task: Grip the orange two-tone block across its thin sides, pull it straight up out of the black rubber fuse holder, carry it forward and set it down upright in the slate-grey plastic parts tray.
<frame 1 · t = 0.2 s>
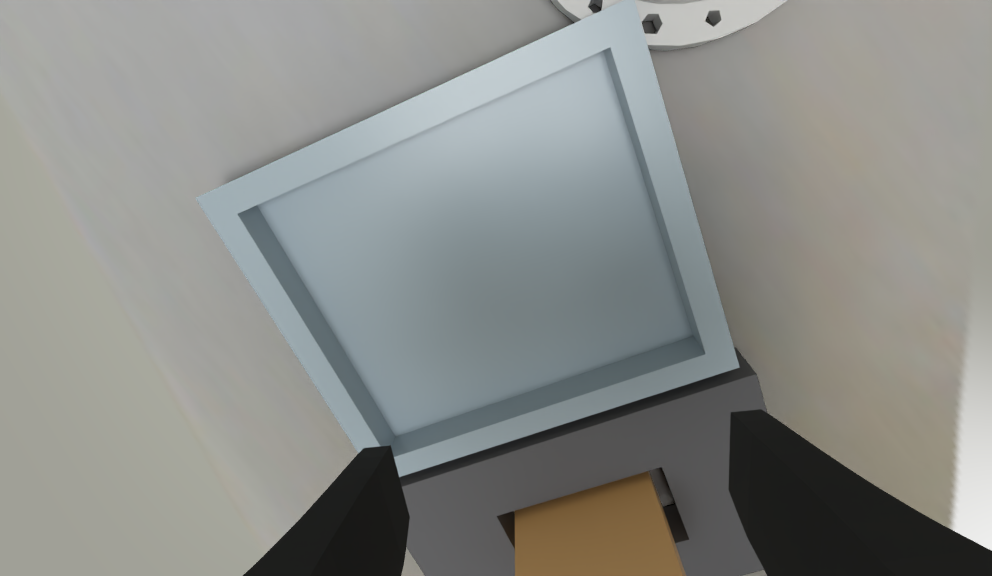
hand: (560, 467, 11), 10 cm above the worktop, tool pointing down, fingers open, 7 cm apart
parts tray: (484, 267, 20), on the worktop
fuse holder: (587, 493, 24), on the worktop
orange two-tone block: (586, 492, 24), resting in fuse holder
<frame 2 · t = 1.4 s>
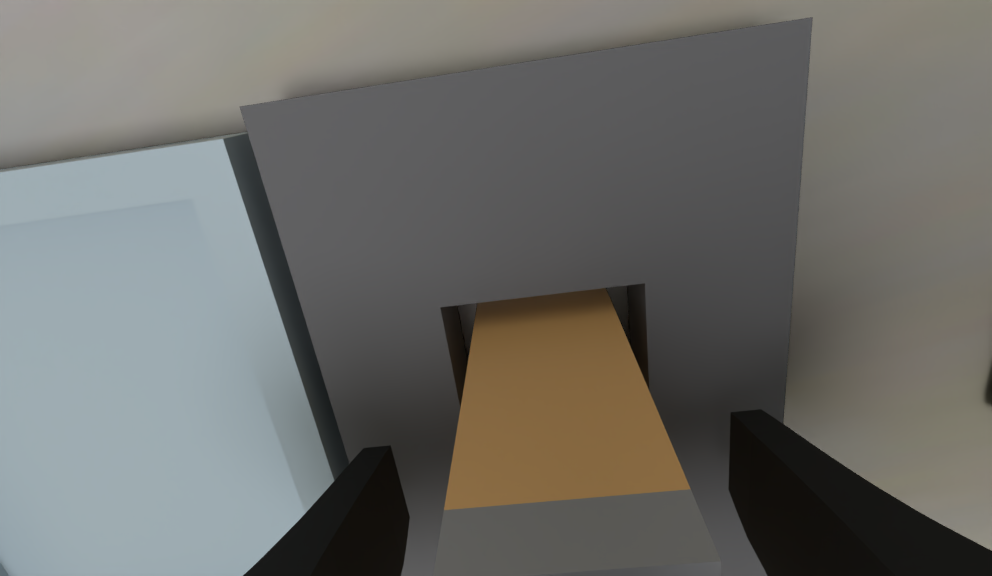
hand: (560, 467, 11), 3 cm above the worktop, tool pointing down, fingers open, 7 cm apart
parts tray: (130, 433, 15), on the worktop
fuse holder: (552, 390, 14), on the worktop
orange two-tone block: (552, 389, 14), resting in fuse holder
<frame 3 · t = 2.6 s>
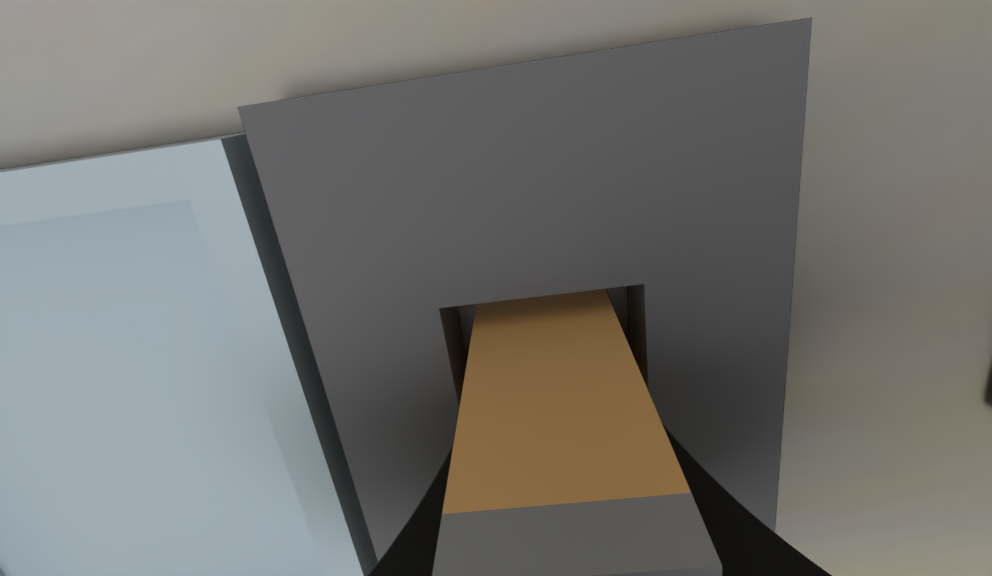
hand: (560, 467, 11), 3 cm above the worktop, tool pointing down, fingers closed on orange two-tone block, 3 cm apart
parts tray: (128, 434, 15), on the worktop
fuse holder: (551, 391, 14), on the worktop
orange two-tone block: (551, 390, 14), resting in fuse holder, touching gripper
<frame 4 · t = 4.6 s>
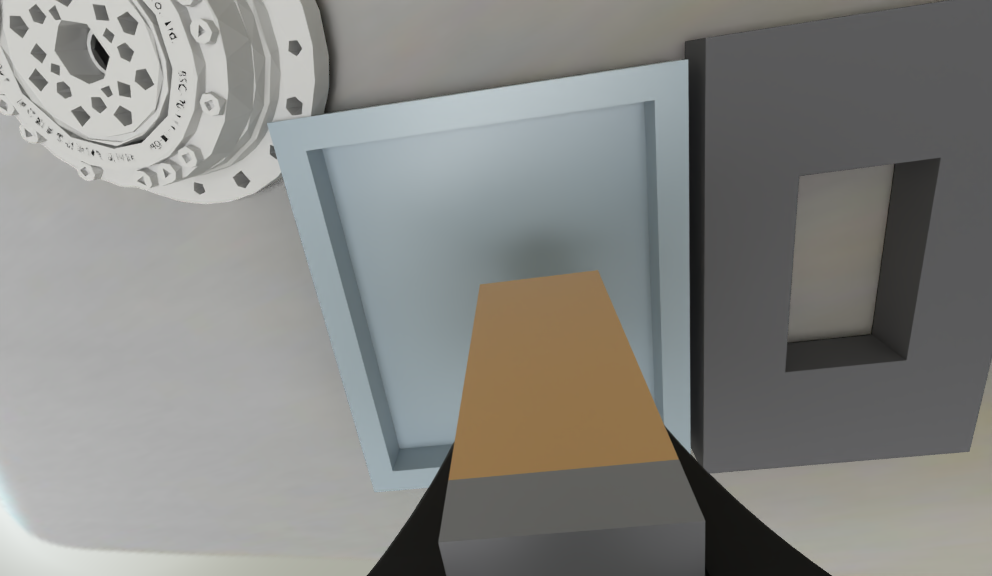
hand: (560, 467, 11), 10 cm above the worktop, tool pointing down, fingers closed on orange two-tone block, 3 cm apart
parts tray: (504, 292, 21), on the worktop
fuse holder: (824, 255, 20), on the worktop
mechanical component: (195, 48, 18), on the worktop, touching parts tray
orange two-tone block: (550, 378, 14), point 7 cm above the worktop, touching gripper
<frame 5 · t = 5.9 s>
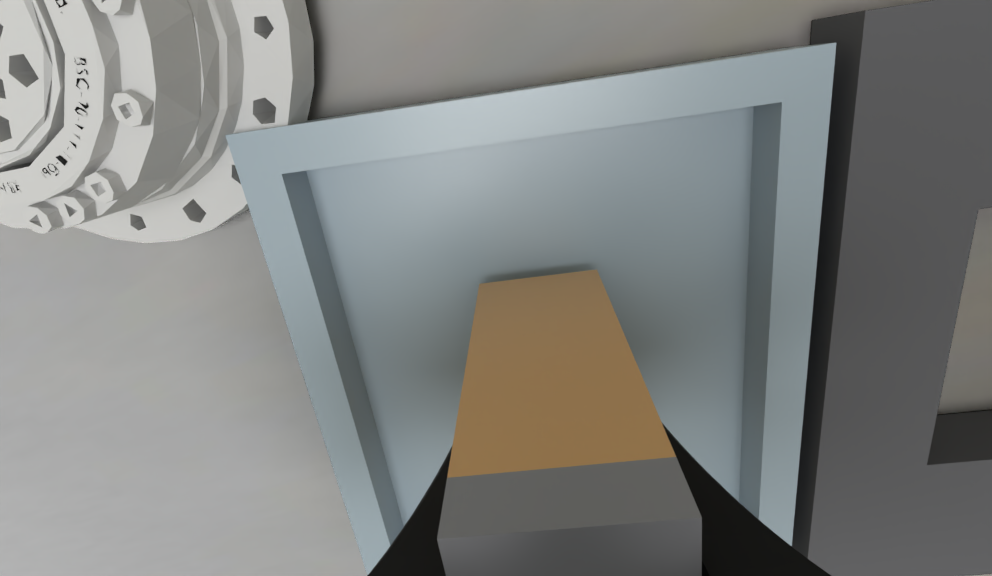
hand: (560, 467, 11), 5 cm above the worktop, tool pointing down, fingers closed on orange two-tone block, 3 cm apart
parts tray: (547, 353, 16), on the worktop
fuse holder: (974, 307, 15), on the worktop
mechanical component: (130, 31, 13), on the worktop, touching parts tray
orange two-tone block: (549, 377, 14), point 1 cm above the worktop, touching gripper
when the fingers open (4 cm above the worktop, at t = 6.8 s): orange two-tone block stays where it is, resting on parts tray.
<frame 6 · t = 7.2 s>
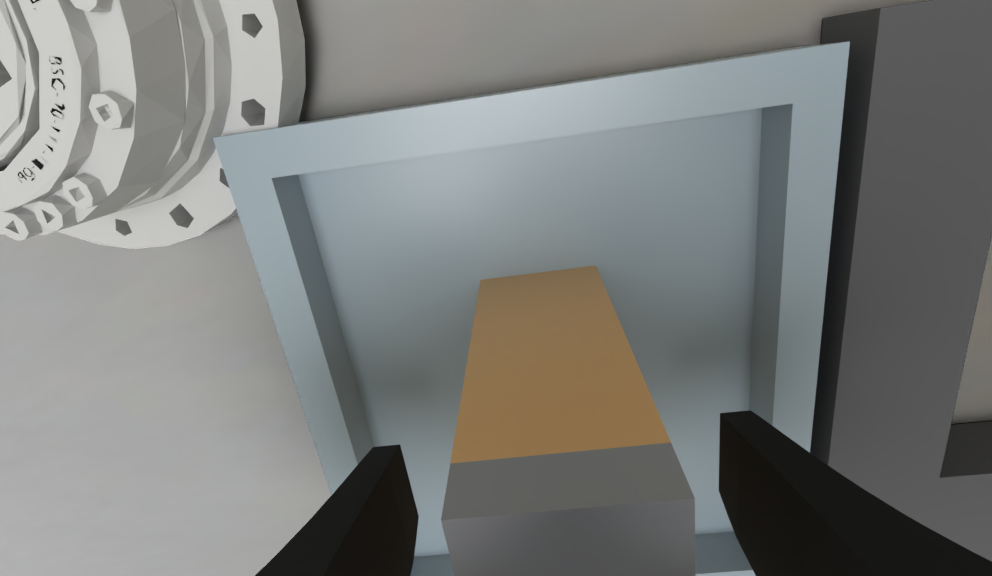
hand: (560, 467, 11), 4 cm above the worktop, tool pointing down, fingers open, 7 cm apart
parts tray: (548, 362, 15), on the worktop
fuse holder: (988, 314, 14), on the worktop
mechanical component: (115, 29, 13), on the worktop, touching parts tray
orange two-tone block: (549, 372, 15), point 1 cm above the worktop, touching parts tray
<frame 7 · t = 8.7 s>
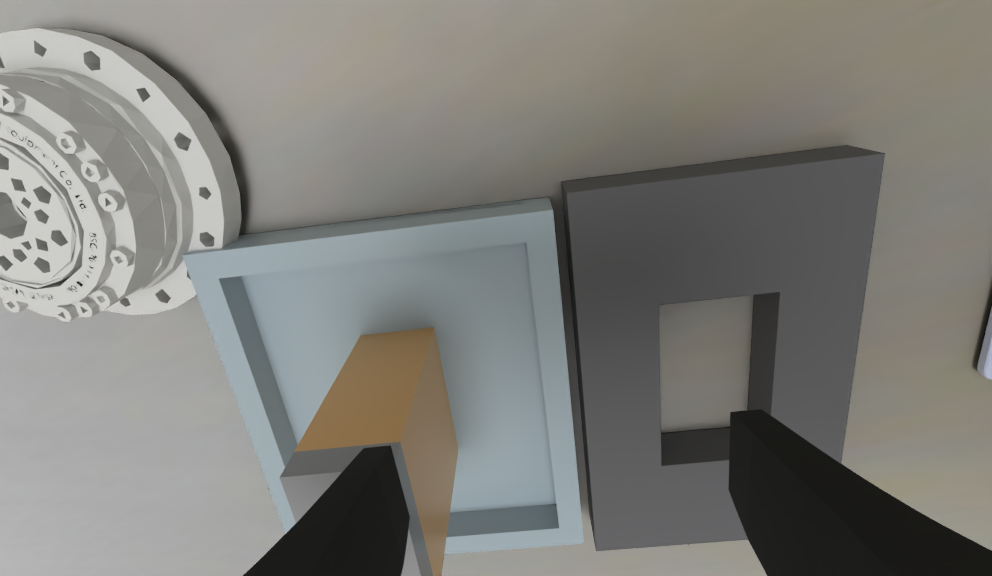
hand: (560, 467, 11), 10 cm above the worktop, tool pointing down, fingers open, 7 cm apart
parts tray: (414, 387, 23), on the worktop
fuse holder: (698, 358, 22), on the worktop
mechanical component: (121, 177, 20), on the worktop, touching parts tray
orange two-tone block: (411, 394, 22), point 1 cm above the worktop, touching parts tray
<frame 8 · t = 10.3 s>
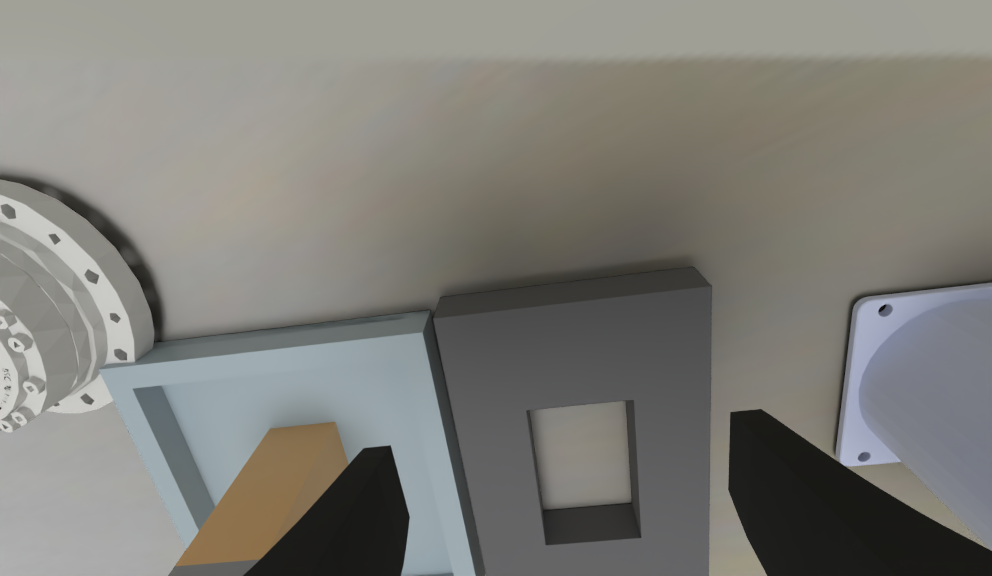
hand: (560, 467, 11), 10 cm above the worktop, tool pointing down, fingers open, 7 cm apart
parts tray: (324, 470, 25), on the worktop
fuse holder: (581, 446, 24), on the worktop
mechanical component: (49, 293, 22), on the worktop, touching parts tray
orange two-tone block: (320, 478, 24), point 1 cm above the worktop, touching parts tray
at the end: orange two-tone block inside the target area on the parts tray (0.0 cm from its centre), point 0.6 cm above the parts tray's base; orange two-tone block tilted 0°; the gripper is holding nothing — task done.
